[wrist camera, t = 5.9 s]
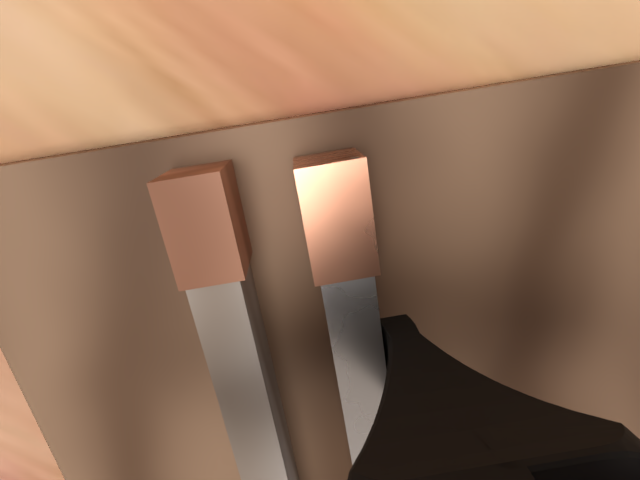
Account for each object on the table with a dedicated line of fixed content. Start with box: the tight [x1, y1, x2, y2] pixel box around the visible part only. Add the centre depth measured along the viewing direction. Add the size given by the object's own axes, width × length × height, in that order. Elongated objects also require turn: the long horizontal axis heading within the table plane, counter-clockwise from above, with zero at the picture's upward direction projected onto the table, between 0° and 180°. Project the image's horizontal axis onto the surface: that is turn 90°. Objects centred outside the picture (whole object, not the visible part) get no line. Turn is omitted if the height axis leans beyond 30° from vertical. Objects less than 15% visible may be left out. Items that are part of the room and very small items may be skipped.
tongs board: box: [0, 60, 640, 480], centre depth 13 cm, size 22×18×5 cm
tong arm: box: [293, 147, 387, 465], centre depth 13 cm, size 14×2×2 cm, turn 9°
